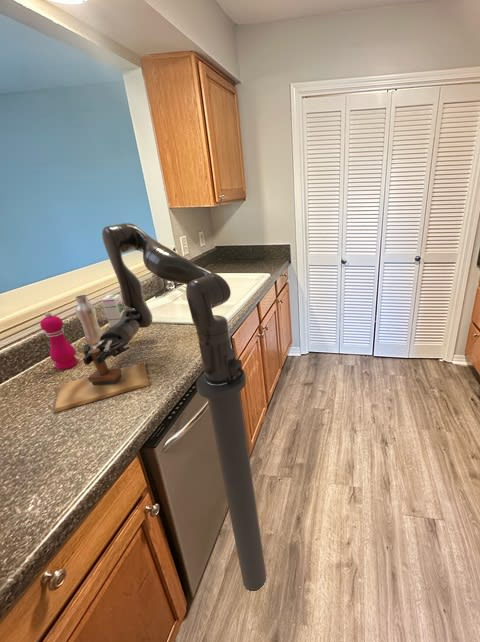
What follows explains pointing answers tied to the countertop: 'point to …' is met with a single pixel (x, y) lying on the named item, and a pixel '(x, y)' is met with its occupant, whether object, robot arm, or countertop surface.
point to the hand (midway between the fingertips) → (91, 361)
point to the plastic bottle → (88, 320)
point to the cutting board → (100, 388)
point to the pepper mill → (58, 342)
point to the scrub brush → (103, 371)
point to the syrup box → (113, 308)
